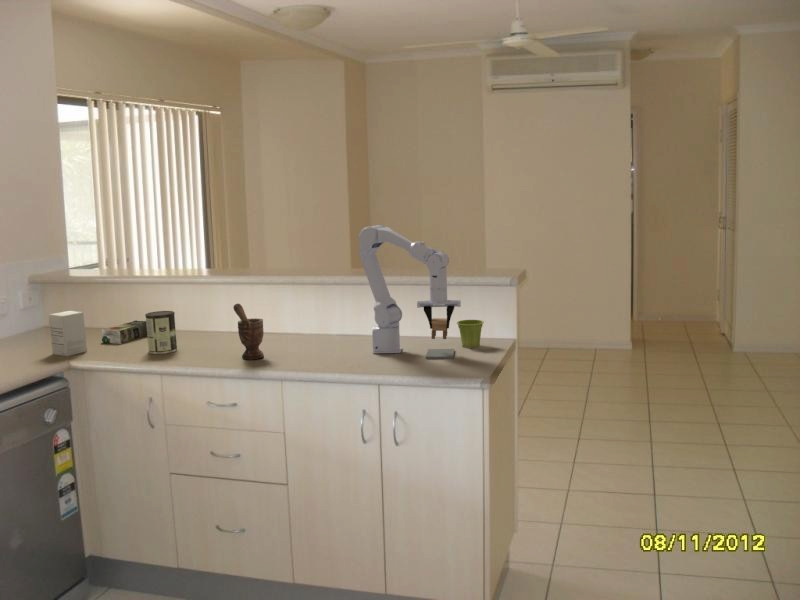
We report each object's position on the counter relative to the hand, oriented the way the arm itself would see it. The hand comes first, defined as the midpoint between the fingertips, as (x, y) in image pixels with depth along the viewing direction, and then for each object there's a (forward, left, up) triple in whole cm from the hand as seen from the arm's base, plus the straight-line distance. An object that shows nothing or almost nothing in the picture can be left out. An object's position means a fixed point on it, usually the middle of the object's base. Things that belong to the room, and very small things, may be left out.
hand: (439, 328), depth 299 cm
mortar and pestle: (-65, -2, -10) cm, 66 cm away
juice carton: (-126, +38, -10) cm, 131 cm away
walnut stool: (0, 0, -3) cm, 3 cm away
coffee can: (-102, +13, -10) cm, 103 cm away
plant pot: (+10, +14, -10) cm, 20 cm away
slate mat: (0, 0, -9) cm, 9 cm away
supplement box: (-137, +12, -10) cm, 138 cm away
